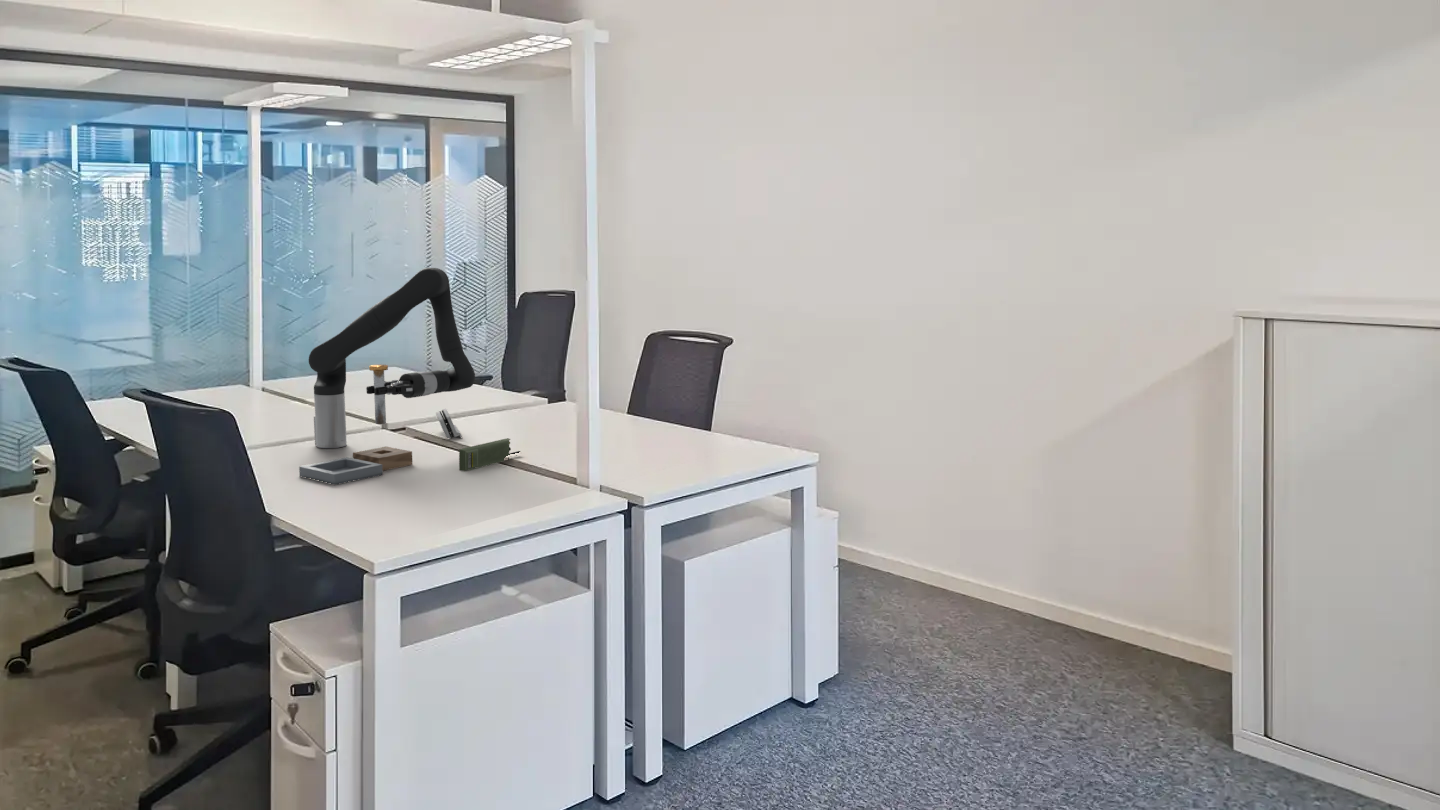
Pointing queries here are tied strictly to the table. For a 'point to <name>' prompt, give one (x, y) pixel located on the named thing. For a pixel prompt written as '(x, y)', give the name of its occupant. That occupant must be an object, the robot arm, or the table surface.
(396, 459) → the socket block
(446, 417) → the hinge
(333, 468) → the tray
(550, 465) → the table surface
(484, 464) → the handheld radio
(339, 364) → the robot arm
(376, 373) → the pin
